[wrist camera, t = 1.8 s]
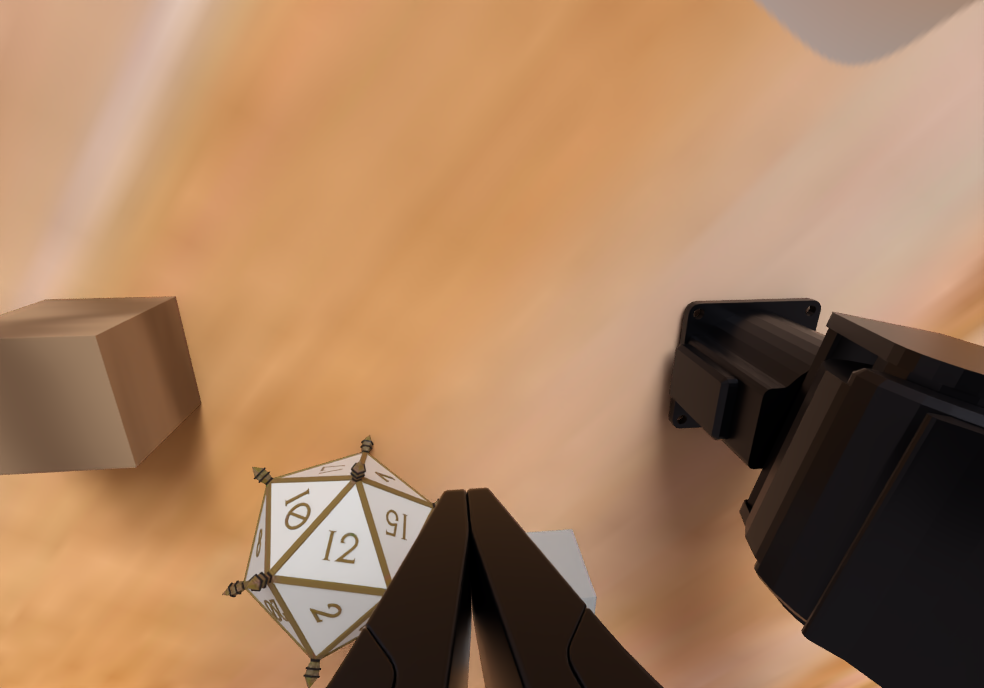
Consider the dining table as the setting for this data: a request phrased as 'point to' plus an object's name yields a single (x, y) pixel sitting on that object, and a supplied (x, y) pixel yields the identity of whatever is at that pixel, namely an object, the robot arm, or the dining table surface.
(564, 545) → the slate block
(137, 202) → the dining table surface
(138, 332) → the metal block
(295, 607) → the game die
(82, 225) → the dining table surface
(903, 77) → the dining table surface
